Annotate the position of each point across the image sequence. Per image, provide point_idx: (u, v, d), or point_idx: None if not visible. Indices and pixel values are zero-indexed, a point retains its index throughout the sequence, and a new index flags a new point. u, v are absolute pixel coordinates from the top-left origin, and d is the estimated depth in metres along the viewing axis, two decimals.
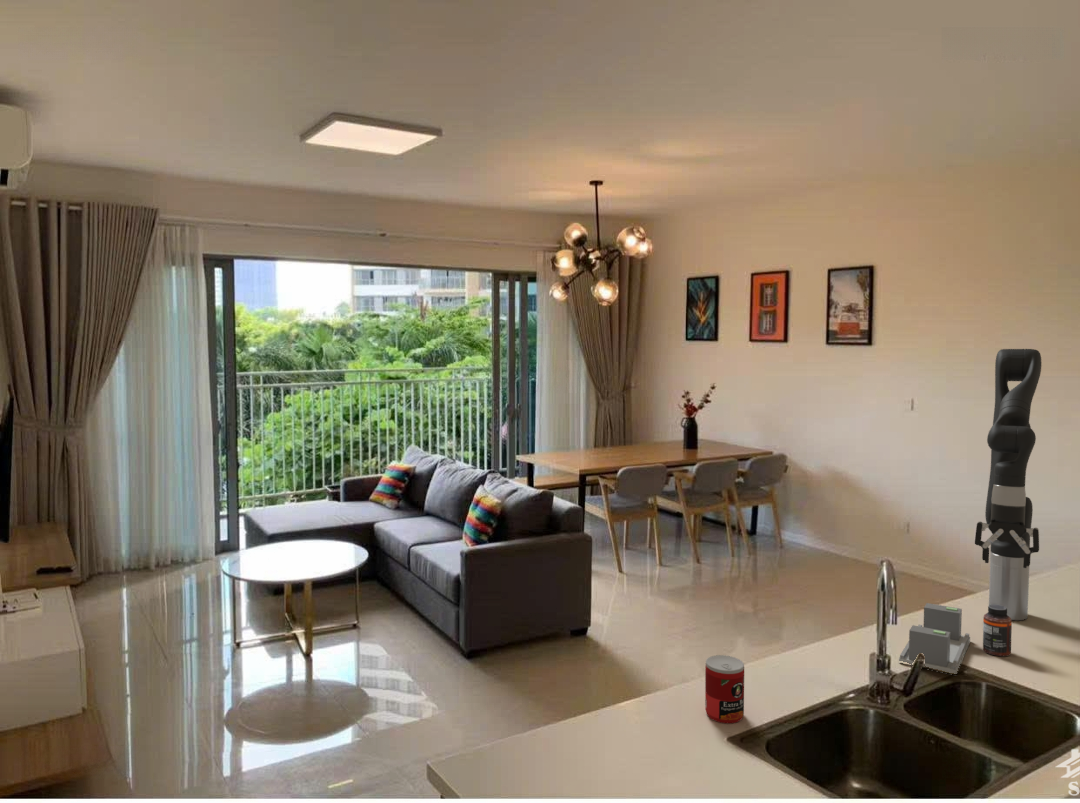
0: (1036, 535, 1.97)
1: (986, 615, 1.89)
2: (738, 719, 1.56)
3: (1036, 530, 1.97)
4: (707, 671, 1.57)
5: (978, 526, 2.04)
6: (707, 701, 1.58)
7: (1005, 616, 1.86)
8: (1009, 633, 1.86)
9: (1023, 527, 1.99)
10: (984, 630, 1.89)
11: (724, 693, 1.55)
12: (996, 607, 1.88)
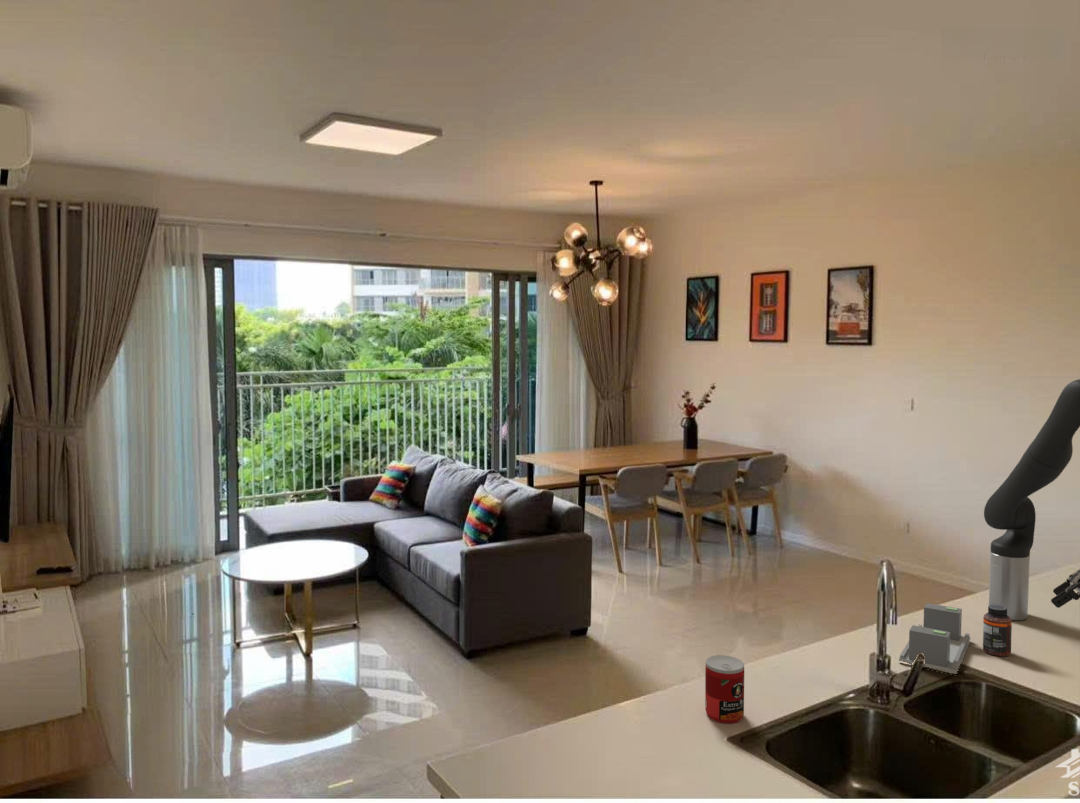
0: None
1: (986, 615, 1.89)
2: (738, 719, 1.56)
3: None
4: (707, 671, 1.57)
5: None
6: (707, 701, 1.58)
7: (1005, 616, 1.86)
8: (1009, 633, 1.86)
9: None
10: (984, 630, 1.89)
11: (724, 693, 1.55)
12: (996, 607, 1.88)
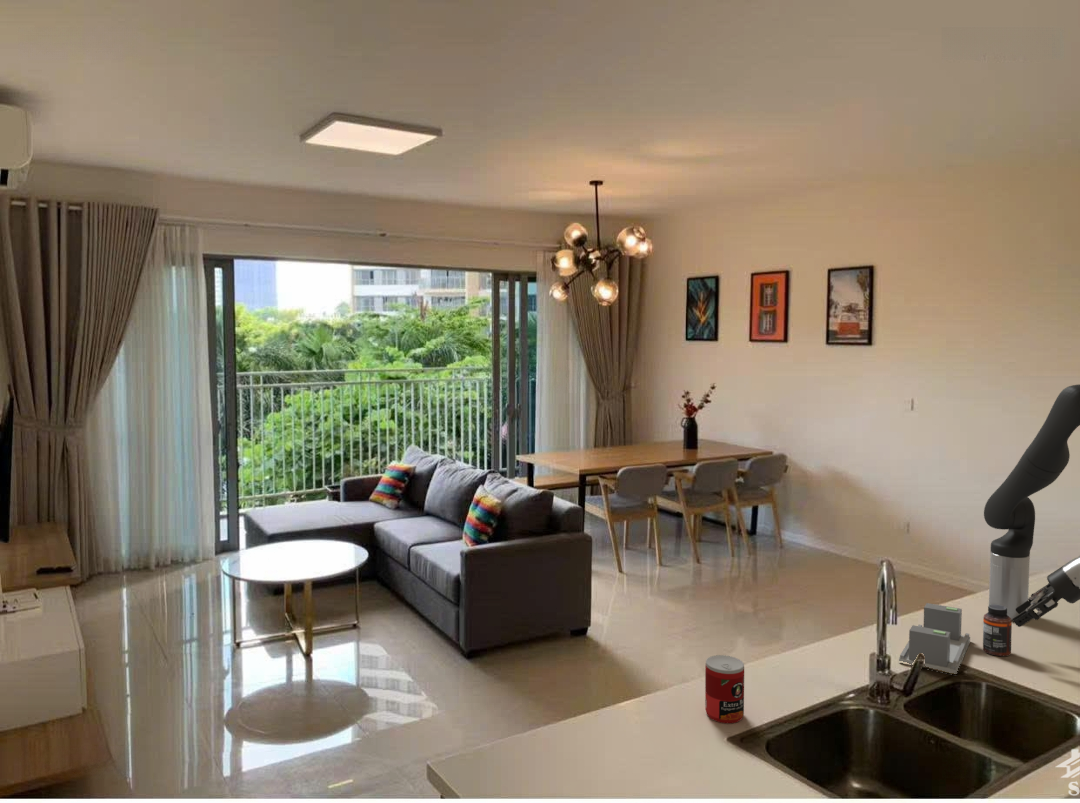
0: None
1: (986, 615, 1.89)
2: (738, 719, 1.56)
3: None
4: (707, 671, 1.57)
5: None
6: (707, 701, 1.58)
7: (1005, 616, 1.86)
8: (1009, 633, 1.86)
9: None
10: (984, 630, 1.89)
11: (724, 693, 1.55)
12: (996, 607, 1.88)
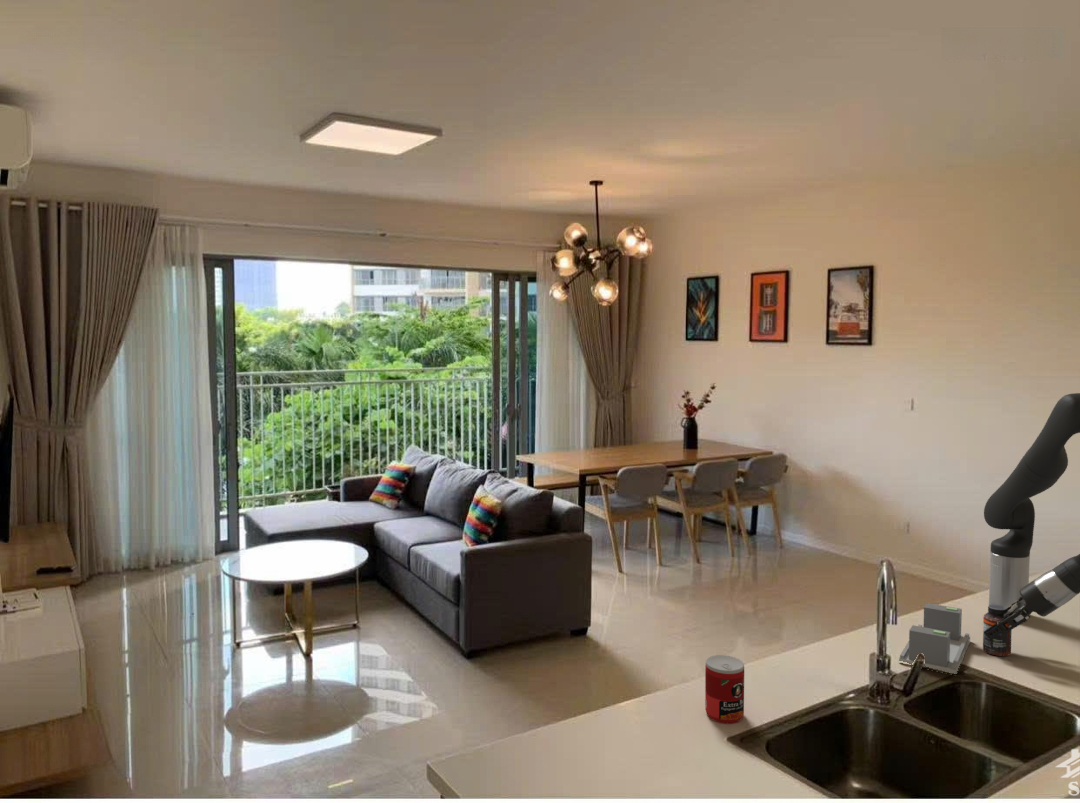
0: None
1: (986, 615, 1.89)
2: (738, 719, 1.56)
3: None
4: (707, 671, 1.57)
5: None
6: (707, 701, 1.58)
7: None
8: (1009, 633, 1.86)
9: None
10: (984, 630, 1.89)
11: (724, 693, 1.55)
12: (996, 607, 1.88)
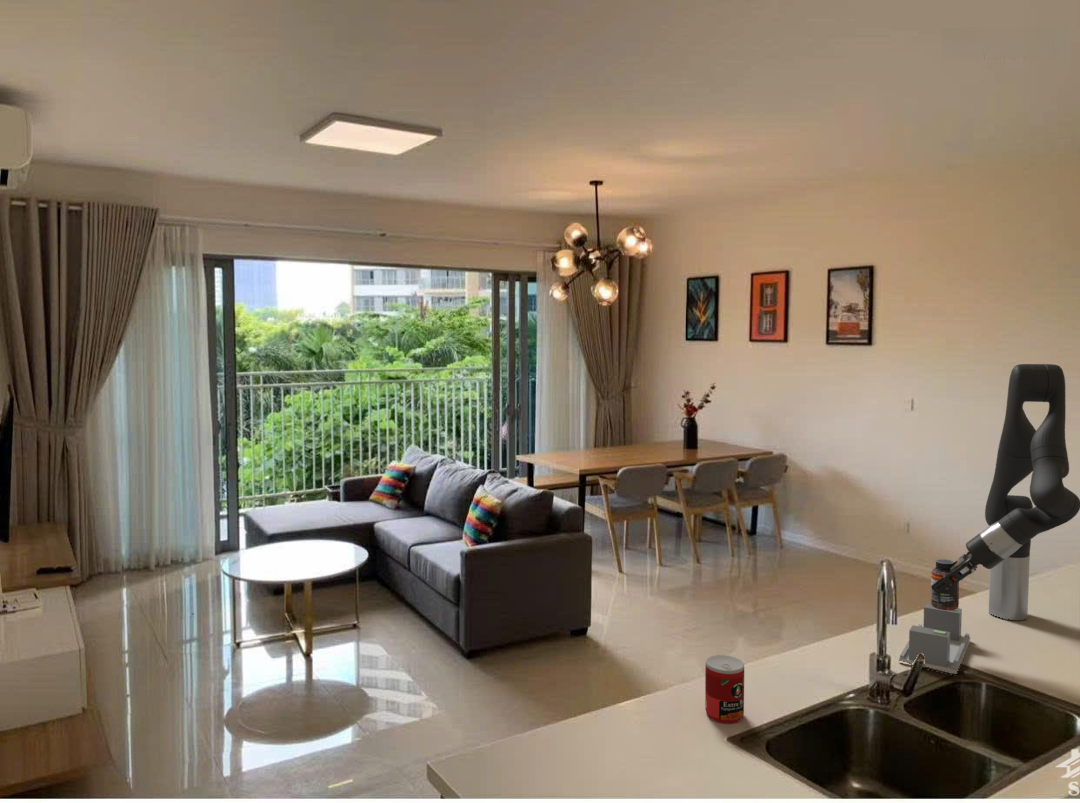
0: None
1: (934, 570, 1.88)
2: (738, 719, 1.56)
3: None
4: (707, 671, 1.57)
5: None
6: (707, 701, 1.58)
7: None
8: (956, 587, 1.85)
9: None
10: None
11: (724, 693, 1.55)
12: (944, 561, 1.87)
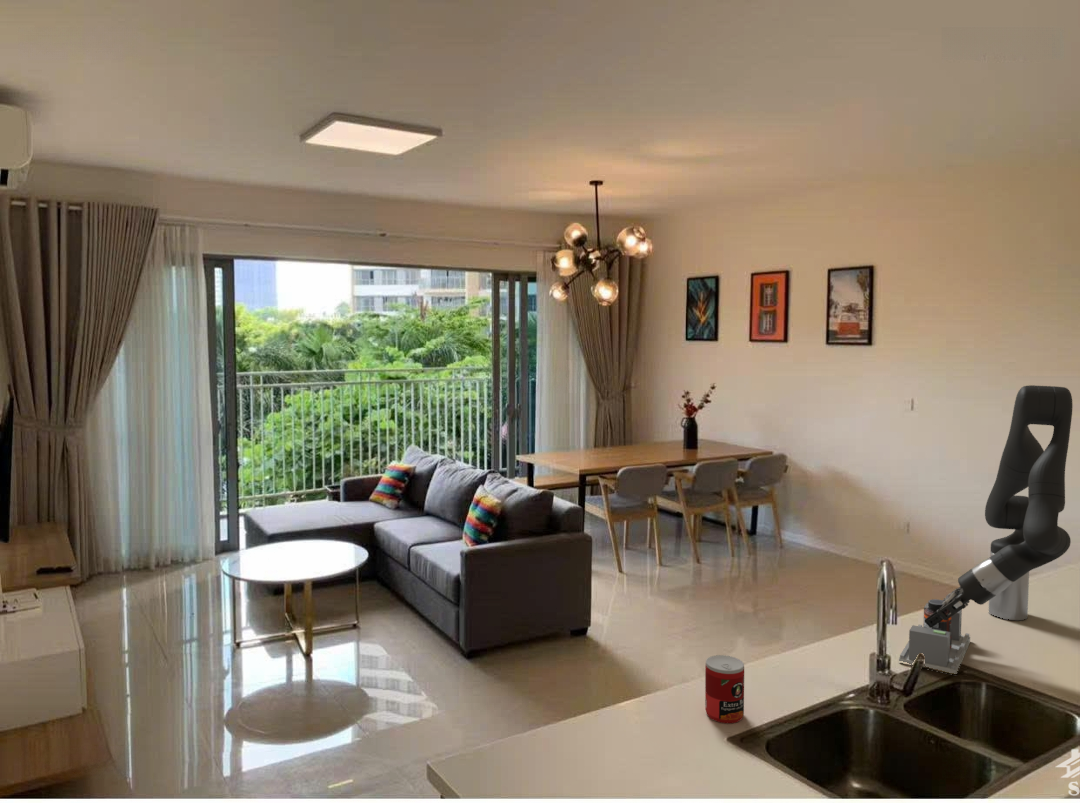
0: None
1: (926, 610, 1.89)
2: (738, 719, 1.56)
3: None
4: (707, 671, 1.57)
5: None
6: (707, 701, 1.58)
7: (944, 611, 1.87)
8: (949, 627, 1.86)
9: None
10: (925, 625, 1.89)
11: (724, 693, 1.55)
12: (936, 601, 1.88)
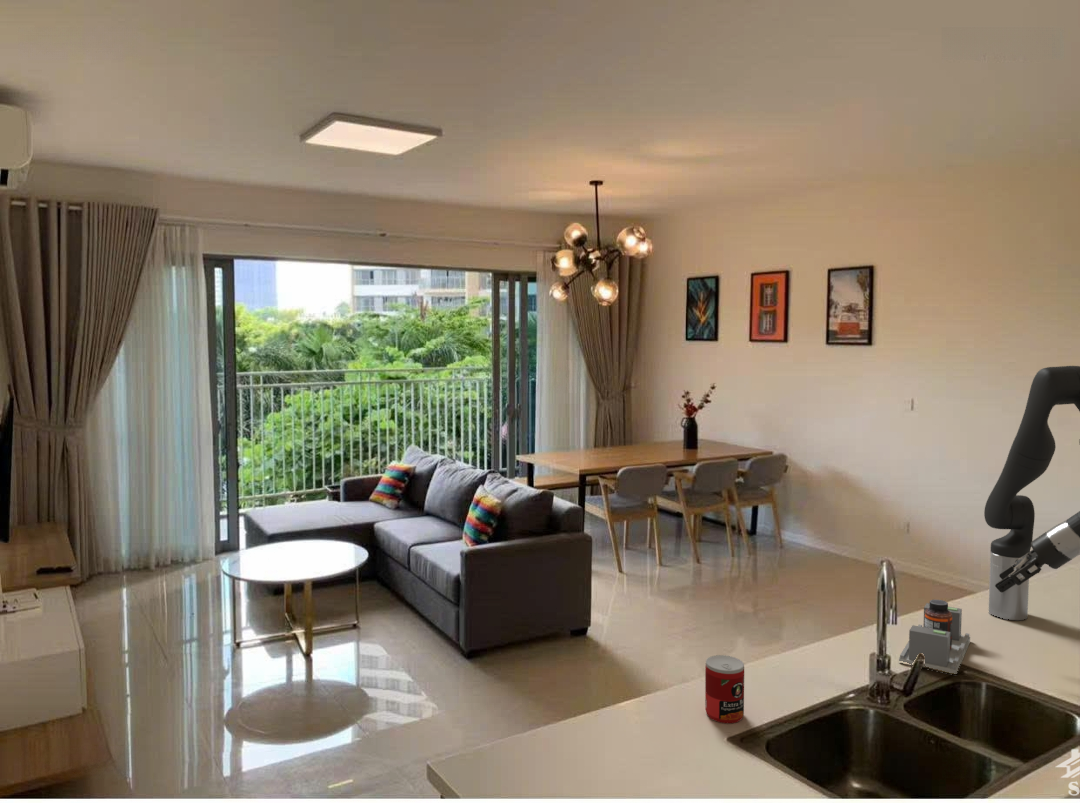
0: None
1: (927, 610, 1.89)
2: (738, 719, 1.56)
3: None
4: (707, 671, 1.57)
5: None
6: (707, 701, 1.58)
7: (946, 611, 1.87)
8: (950, 628, 1.86)
9: None
10: (925, 625, 1.89)
11: (724, 693, 1.55)
12: (937, 602, 1.88)
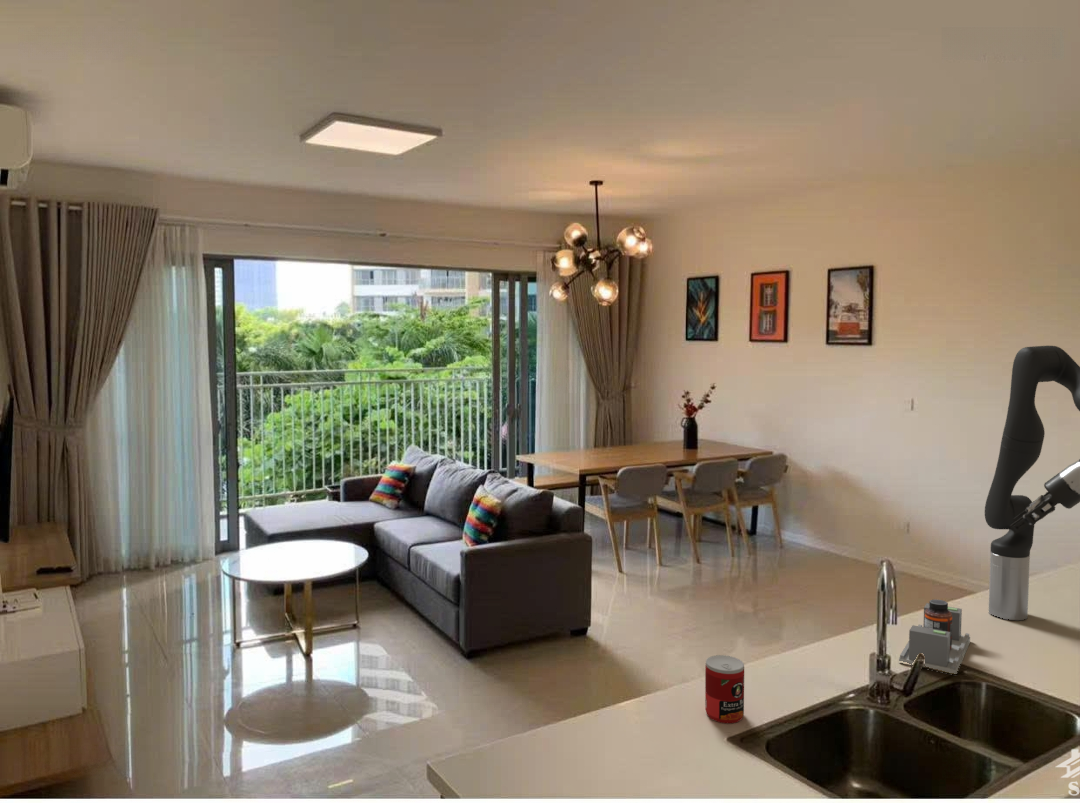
0: None
1: (927, 610, 1.89)
2: (738, 719, 1.56)
3: None
4: (707, 671, 1.57)
5: (1050, 511, 1.78)
6: (707, 701, 1.58)
7: (946, 611, 1.87)
8: (949, 628, 1.86)
9: None
10: (925, 625, 1.89)
11: (724, 693, 1.55)
12: (937, 602, 1.88)
